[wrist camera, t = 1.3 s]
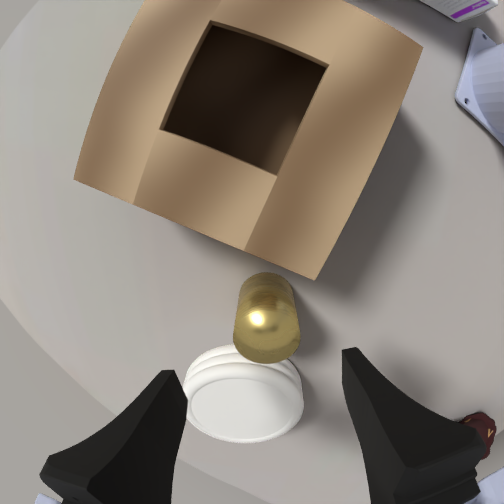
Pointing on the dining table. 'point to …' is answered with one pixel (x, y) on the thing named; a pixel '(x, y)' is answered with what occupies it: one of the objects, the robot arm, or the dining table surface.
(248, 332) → the cylinder
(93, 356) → the dining table surface
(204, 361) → the coaster
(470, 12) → the syrup box
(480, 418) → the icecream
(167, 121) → the box
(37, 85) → the dining table surface
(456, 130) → the dining table surface
